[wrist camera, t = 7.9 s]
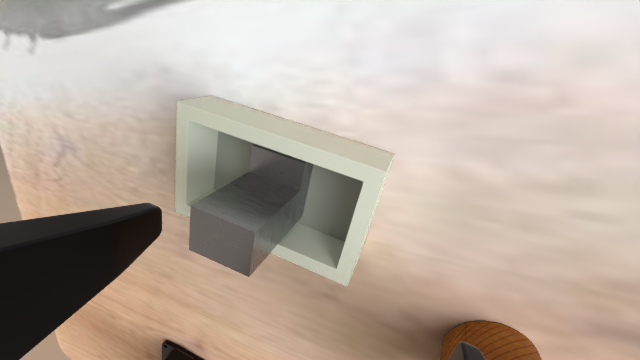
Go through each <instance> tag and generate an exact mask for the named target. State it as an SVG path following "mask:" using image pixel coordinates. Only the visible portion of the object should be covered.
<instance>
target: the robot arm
mask: <svg viewBox="0 0 640 360" xmlns="http://www.w3.org/2000/svg"><path fill="white" fill-rule="evenodd" d="M161 231H162V211H161V209H160V208H159V207H158V206H155V205H153V204H151V203H142V204H135V205H128V206H121V207H114V208H107V209H100V210H93V211H86V212H79V213H71V214H64V215H57V216H50V217H43V218H36V219H29V220H22V221H16V222H8V223H1V224H0V360H19V359H20V358H22V357H23V356H24V355H25V354H26V353H28V352H29V351H30V350H31V349H32V348H34V347H35V346H36V345H37V344H38V343H40V342H41V341H42V340H43V339H44V338H46V337H47V336H48V335H49V334H50V333H51V332H53V331H54V330H55V329H56V328H57V327H59V326H60V325H61V324H62V323H63V322H65V321H66V320H67V319H68V318H69V317H71V316H72V315H73V314H74V313H75V312H77V311H78V310H79V309H80V308H81V307H83V306H84V305H85V304H86V303H87V302H88V301H90V300H91V299H92V298H93V297H94V296H96V295H97V294H98V293H99V292H100V291H102V290H103V289H104V288H105V287H106V286H108V285H109V284H110V283H111V282H112V281H113V280H115V279H116V278H117V277H118V276H119V275H120V274H121V273H122V272H124V271H125V270H126V269H127V268H128V267H129V266H130V265H131V264H132V263H133V262H134V261H135V260H136V259H137V258H138V257H139V256H140V255H141V254H142V253H143V252H144V251H145V250H146V249H147V248H148V247H149V246H150V245H151V244H152V243H153V242H154V241H155V240H156V239H157V238H158V236H159V235H160V233H161ZM162 360H202V359H200V358H198V357H196V356H194V355H193V354H191V353H189V352H187V351H186V350H184V349H182V348H180V347H178V346H177V345H175V344H173V343H171V342H169V341H167V340H166V341H164V342H163V344H162ZM448 360H486V359H485V358H484V356H483V354H482V353H481V351H480V350H479V349H478V348H477V347H475V346H473V345H471V344H468V343H466V342H464V341H461V342H459V343H458V344H457V346H456V347H455V349H454V351H453V352H452V354H451V355H450V357H449V359H448Z"/></svg>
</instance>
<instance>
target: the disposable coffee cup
mask: <svg viewBox="0 0 640 360" xmlns="http://www.w3.org/2000/svg"><path fill="white" fill-rule="evenodd" d="M461 341H464V342H466V343H468V344H471V345H473V346H475V347H477V348H478V349H479V350H480V351H481V353H482V354H483V356H484V358H485V359H486V360H541V357H540V355H539V353H538V351H537V349H536V347H535V346H534V345H533V343H532V342H531V341H530V340H529V339H528V338H527V337H526V336H524V335H523V334H521V333H520V332H518V331H517V330H514V329H512V328H510V327H508V326H505V325H502V324H499V323H493V322H486V321H475V322H468V323H465V324H462V325H459V326H457V327H455V328H453V329H452V330H451V331H450V332H449V333H448V334H447V335H446V337H445V338H444V341H443V344H442V352H441V358H440V360H448V359H449V357H450V355H451V354H452V352H453V351H454V349H455V347H456V346H457V344H458V343H459V342H461Z"/></svg>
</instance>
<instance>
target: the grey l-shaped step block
mask: <svg viewBox="0 0 640 360" xmlns="http://www.w3.org/2000/svg"><path fill="white" fill-rule="evenodd" d="M313 165H314V164H312V163H309V162H306V161H303V160H301V159H298V158H295V157H292V156H289V155H286V154H283V153H281V152H278V151H275V150H272V149H269V148H266V147H263V146H260V145H258V144H253V145H251V154H250V162H249V171H248V172H247V173H246V174H244V175H242V176H240V177H239V178H237V179H235V180H234V181H232V182H230V183H228V184H227V185H225V186H223V187H222V188H220V189H218V190H216V191H215V192H213V193H211V194H210V195H208V196H206V197H204V198H203V199H201V200H199V201H198V202H196V203H194V204H192V205H191V209H190V242H189V250H191V251H194V252H196V253H198V254H200V255H202V256H204V257H207V258H209V259H211V260H213V261H215V262H218V263H220V264H222V265H224V266H226V267H229V268H231V269H233V270H235V271H237V272H239V273H242V274H244V275H246V276H248V277H249V276H250V275H251V274H252V273H253V272H254V271H255V270H256V268H257V267H258V266H259V265H260V264H261V263H262V262H263V260H264V259H265V258H266V257H267V256H268V255H269V254H270V252H271V251H272V250H273V249H274V248H275V247H276V246H277V245H278V243H279V242H280V241H281V240H282V239H283V238H284V237H285V235H286V234H287V233H288V232H289V231H290V230H291V229H292V228H293V226H294V225H295V224H296V223H297V222H298V221H299V220H300V218H301V217H302V216H303V212H304V207H305V202H306V198H307V193H308V188H309V184H310V179H311V174H312V170H313Z"/></svg>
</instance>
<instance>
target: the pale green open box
mask: <svg viewBox="0 0 640 360" xmlns="http://www.w3.org/2000/svg"><path fill="white" fill-rule="evenodd" d="M253 144H258V145H260V146H263V147H266V148H269V149H272V150H275V151H278V152H281V153H283V154H286V155H289V156H292V157H295V158H298V159H301V160H303V161H306V162H309V163H312V164H314V165H313V170H312V174H311V179H310V184H309V188H308V193H307V198H306V202H305V207H304V212H303V216H302V217H301V218H300V220H299V221H298V222H297V223H296V224H295V225H294V226H293V228H292V229H291V230H290V231H289V232H288V233H287V234H286V235H285V237H284V238H283V239H282V240H281V241H280V242H279V243H278V245H277V246H276V247H275V248H274V249H273V250H272V251H271V252H270V253H271V254H273V255H276V256H278V257H280V258H282V259H285V260H287V261H289V262H292V263H294V264H296V265H298V266H301V267H303V268H305V269H308V270H310V271H312V272H314V273H317V274H319V275H321V276H324V277H326V278H328V279H330V280H333V281H335V282H337V283H340V284H342V285H344V286H346V287H347V286H348V284H349V281H350V279H351V276H352V274H353V271H354V269H355V267H356V264H357V262H358V259H359V257H360V254H361V251H362V248H363V245H364V242H365V239H366V236H367V233H368V231H369V228H370V225H371V222H372V219H373V216H374V213H375V210H376V207H377V204H378V201H379V198H380V196H381V193H382V190H383V187H384V184H385V181H386V178H387V175H388V172H389V169H390V166H391V163H392V161H393V158H394V155H395V154H393V153H390V152H387V151H383V150H380V149H377V148H374V147H371V146H368V145H365V144H362V143H358V142H355V141H352V140H349V139H346V138H343V137H340V136H337V135H333V134H330V133H327V132H324V131H321V130H318V129H315V128H312V127H308V126H305V125H302V124H299V123H296V122H293V121H290V120H287V119H283V118H280V117H277V116H274V115H271V114H268V113H265V112H262V111H259V110H255V109H252V108H249V107H246V106H243V105H240V104H237V103H234V102H230V101H227V100H224V99H221V98H218V97H215V96H206V97H199V98H193V99H186V100H180V101H177V103H176V176H175V212H177V213H180V214H182V215H184V216H186V217H189V218H190V209H191V205H192V204H194V203H196V202H198V201H199V200H201V199H203V198H204V197H206V196H208V195H210V194H211V193H213V192H215V191H216V190H218V189H220V188H222V187H223V186H225V185H227V184H228V183H230V182H232V181H234V180H235V179H237V178H239V177H240V176H242V175H244V174H246V173H247V172H248V171H249V162H250V154H251V145H253Z"/></svg>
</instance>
